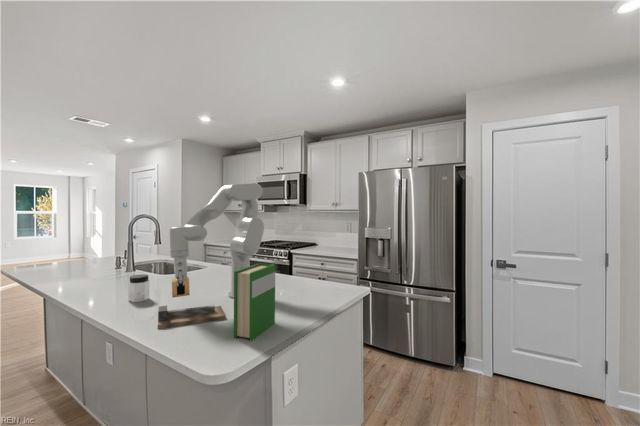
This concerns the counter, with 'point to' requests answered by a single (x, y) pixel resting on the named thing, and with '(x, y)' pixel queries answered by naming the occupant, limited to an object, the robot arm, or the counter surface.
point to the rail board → (188, 316)
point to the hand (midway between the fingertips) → (180, 292)
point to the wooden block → (174, 287)
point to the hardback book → (254, 300)
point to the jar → (138, 288)
